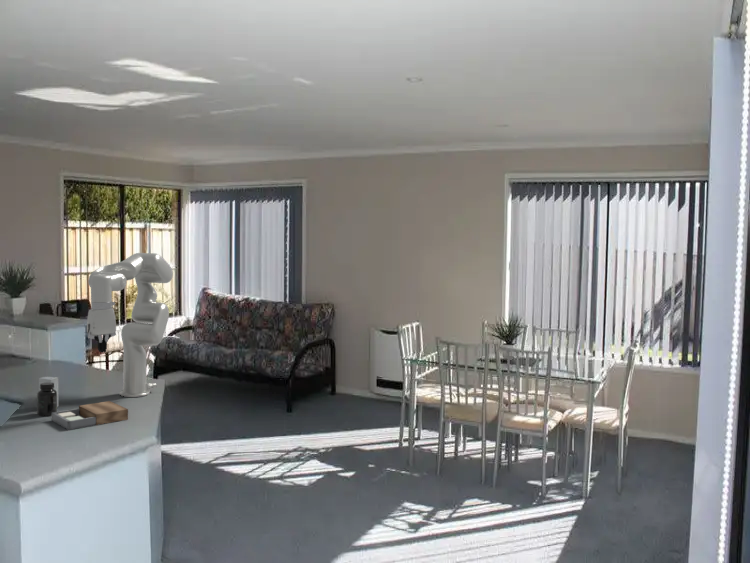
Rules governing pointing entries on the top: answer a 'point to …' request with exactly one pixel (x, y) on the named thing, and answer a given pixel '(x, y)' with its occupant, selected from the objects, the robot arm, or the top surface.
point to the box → (74, 423)
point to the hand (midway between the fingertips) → (102, 351)
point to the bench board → (104, 412)
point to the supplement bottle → (46, 399)
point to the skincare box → (50, 379)
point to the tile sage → (74, 418)
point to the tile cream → (67, 414)
